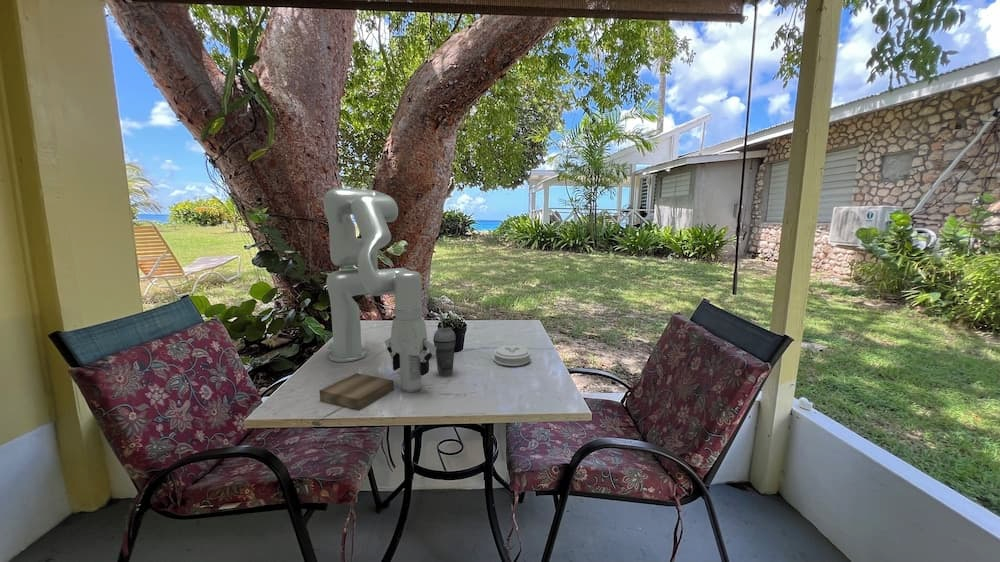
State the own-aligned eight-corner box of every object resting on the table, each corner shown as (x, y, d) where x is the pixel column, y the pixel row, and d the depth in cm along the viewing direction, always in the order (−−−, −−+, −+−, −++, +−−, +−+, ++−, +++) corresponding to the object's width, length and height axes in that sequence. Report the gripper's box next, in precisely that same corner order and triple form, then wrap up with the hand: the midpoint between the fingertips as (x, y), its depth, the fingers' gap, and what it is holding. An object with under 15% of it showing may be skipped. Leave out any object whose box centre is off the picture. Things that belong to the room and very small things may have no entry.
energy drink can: (413, 383, 126) (411, 335, 124) (426, 388, 122) (424, 339, 120) (396, 389, 121) (394, 339, 119) (409, 394, 117) (408, 343, 115)
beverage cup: (452, 379, 129) (451, 316, 126) (430, 377, 130) (428, 315, 127) (459, 370, 136) (458, 311, 133) (438, 369, 137) (437, 310, 134)
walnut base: (320, 400, 114) (319, 390, 113) (356, 382, 126) (356, 373, 126) (359, 410, 108) (358, 399, 107) (393, 390, 121) (393, 380, 120)
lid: (494, 355, 151) (494, 342, 151) (529, 356, 151) (529, 342, 150) (493, 368, 139) (493, 353, 138) (530, 368, 139) (531, 354, 138)
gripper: (376, 314, 118) (378, 371, 121) (426, 320, 111) (428, 380, 114) (393, 309, 125) (395, 363, 128) (441, 314, 118) (443, 371, 121)
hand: (410, 371), depth 121 cm, fingers open, 9 cm apart
